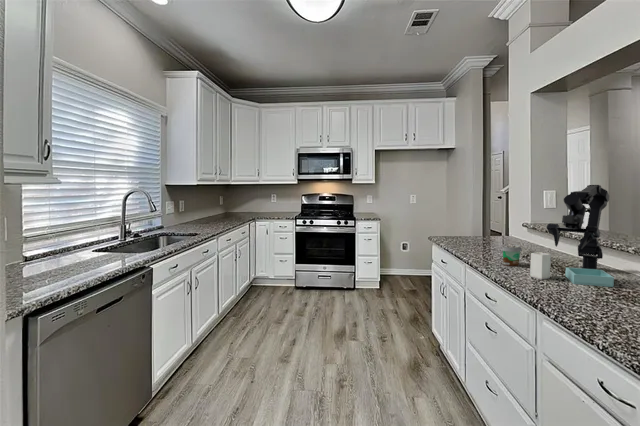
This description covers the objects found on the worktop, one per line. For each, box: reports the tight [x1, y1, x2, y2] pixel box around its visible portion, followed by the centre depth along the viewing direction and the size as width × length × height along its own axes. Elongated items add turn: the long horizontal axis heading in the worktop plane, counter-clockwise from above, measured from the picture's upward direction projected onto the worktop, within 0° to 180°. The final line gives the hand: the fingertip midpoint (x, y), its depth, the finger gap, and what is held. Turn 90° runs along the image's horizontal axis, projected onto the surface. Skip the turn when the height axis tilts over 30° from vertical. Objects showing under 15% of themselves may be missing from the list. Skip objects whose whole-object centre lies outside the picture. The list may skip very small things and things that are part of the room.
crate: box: [565, 267, 615, 288], centre depth 152 cm, size 14×14×4 cm
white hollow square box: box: [529, 251, 551, 281], centre depth 159 cm, size 5×5×11 cm
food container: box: [502, 244, 523, 267], centre depth 183 cm, size 12×6×10 cm, turn 123°
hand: (568, 247), depth 152 cm, fingers open, 9 cm apart
